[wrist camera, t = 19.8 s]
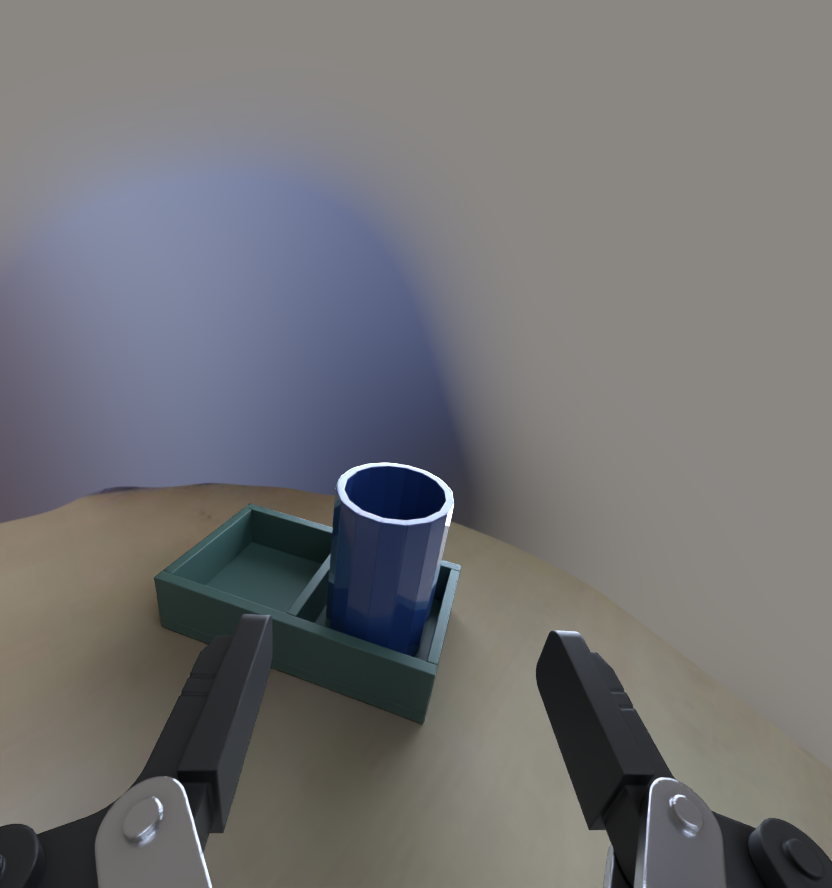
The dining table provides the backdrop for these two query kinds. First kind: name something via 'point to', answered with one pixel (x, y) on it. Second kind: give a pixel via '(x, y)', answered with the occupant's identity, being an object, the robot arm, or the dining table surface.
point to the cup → (386, 553)
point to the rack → (297, 608)
